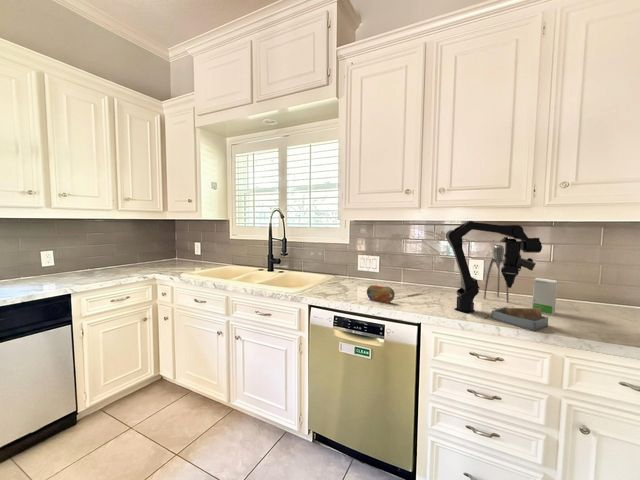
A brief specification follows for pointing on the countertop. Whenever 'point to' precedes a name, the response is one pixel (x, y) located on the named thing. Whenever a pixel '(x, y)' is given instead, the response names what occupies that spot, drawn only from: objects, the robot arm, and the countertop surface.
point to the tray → (519, 320)
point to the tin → (380, 293)
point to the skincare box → (544, 295)
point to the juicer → (498, 260)
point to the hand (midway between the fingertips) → (510, 285)
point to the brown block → (524, 313)
